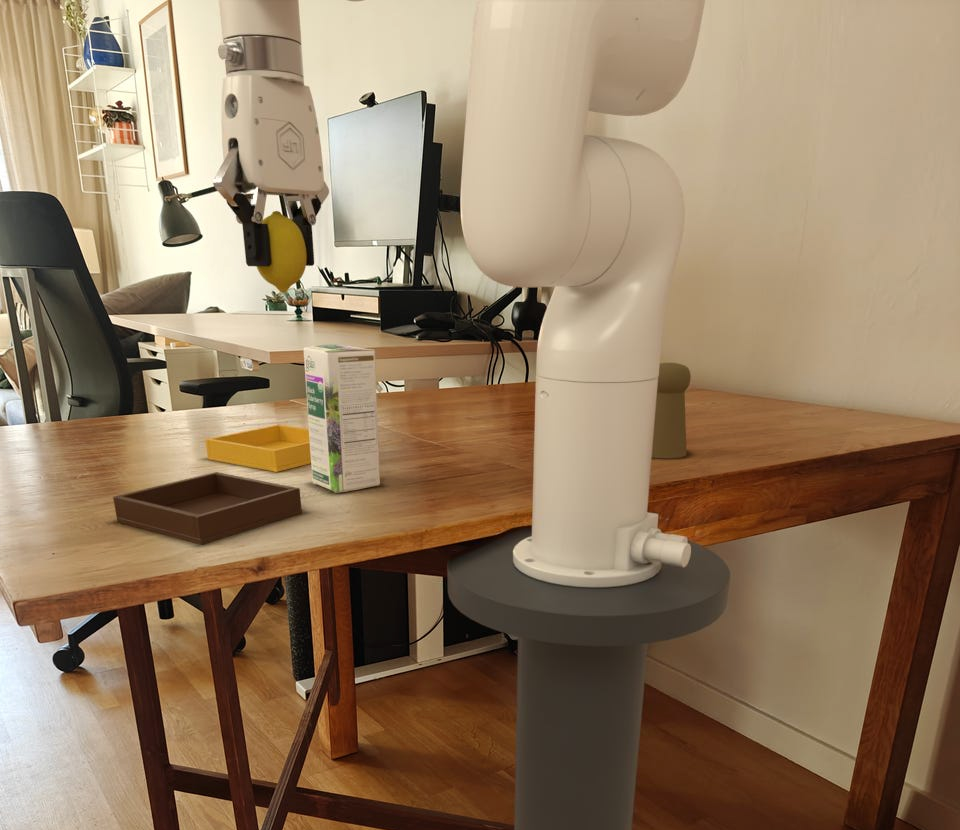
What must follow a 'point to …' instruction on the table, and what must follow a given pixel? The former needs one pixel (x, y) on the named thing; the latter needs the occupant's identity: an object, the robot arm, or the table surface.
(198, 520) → the brown tray
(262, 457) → the yellow tray
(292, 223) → the lemon
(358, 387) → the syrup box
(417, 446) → the table surface
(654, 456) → the cork
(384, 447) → the table surface
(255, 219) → the robot arm
